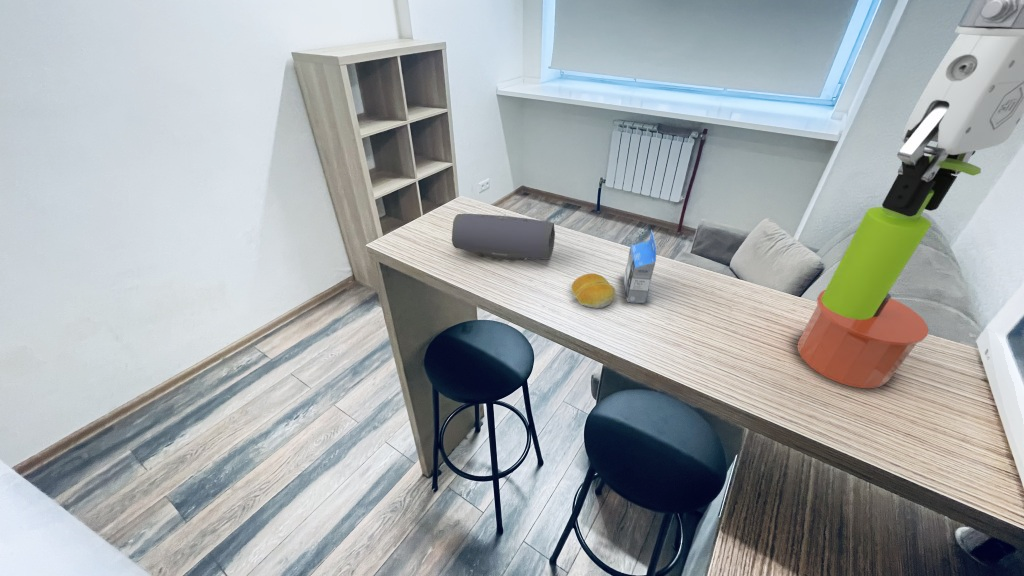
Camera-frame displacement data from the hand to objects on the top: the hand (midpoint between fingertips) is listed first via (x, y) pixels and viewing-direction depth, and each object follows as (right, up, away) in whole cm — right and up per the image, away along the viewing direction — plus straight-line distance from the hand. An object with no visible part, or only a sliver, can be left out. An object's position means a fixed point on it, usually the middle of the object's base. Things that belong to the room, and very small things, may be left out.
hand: (908, 207), depth 46 cm
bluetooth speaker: (-47, -2, +51) cm, 70 cm away
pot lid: (+10, -13, +16) cm, 23 cm away
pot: (+10, -21, +22) cm, 32 cm away
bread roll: (-29, -11, +38) cm, 48 cm away
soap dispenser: (+1, -12, +9) cm, 15 cm away
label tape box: (-20, -10, +39) cm, 45 cm away
